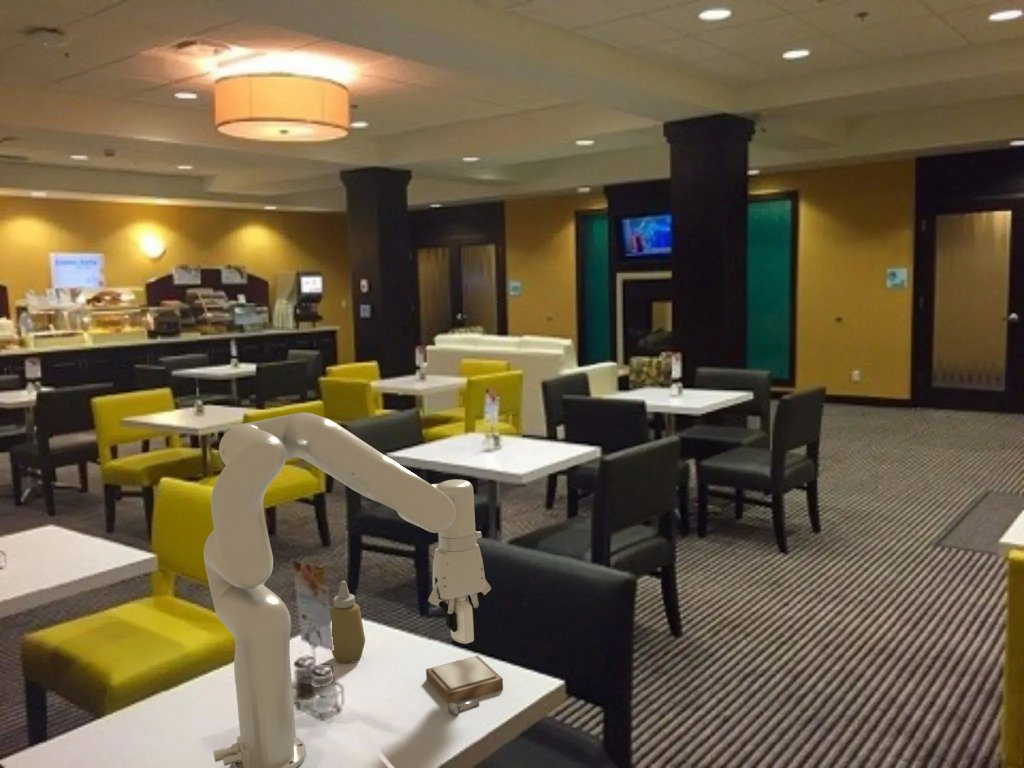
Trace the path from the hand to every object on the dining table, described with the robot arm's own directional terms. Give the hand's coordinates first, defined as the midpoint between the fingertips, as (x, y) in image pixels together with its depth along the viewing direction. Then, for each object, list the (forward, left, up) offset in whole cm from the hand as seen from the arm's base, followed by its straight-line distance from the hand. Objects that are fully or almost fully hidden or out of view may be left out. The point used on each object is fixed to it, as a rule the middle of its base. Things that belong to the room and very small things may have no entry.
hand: (461, 626), depth 177 cm
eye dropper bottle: (0, 0, -3) cm, 3 cm away
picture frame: (0, 0, -13) cm, 13 cm away
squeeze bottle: (-17, +26, -14) cm, 34 cm away
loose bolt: (-4, -8, -13) cm, 16 cm away
